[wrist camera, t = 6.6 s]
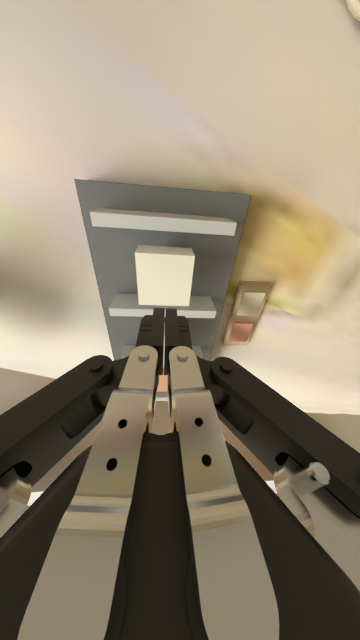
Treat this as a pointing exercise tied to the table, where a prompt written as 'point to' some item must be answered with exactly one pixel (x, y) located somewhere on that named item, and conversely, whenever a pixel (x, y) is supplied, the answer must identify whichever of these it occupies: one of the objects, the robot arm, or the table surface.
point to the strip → (245, 312)
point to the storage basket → (354, 8)
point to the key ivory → (164, 275)
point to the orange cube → (162, 383)
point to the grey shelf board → (160, 230)
